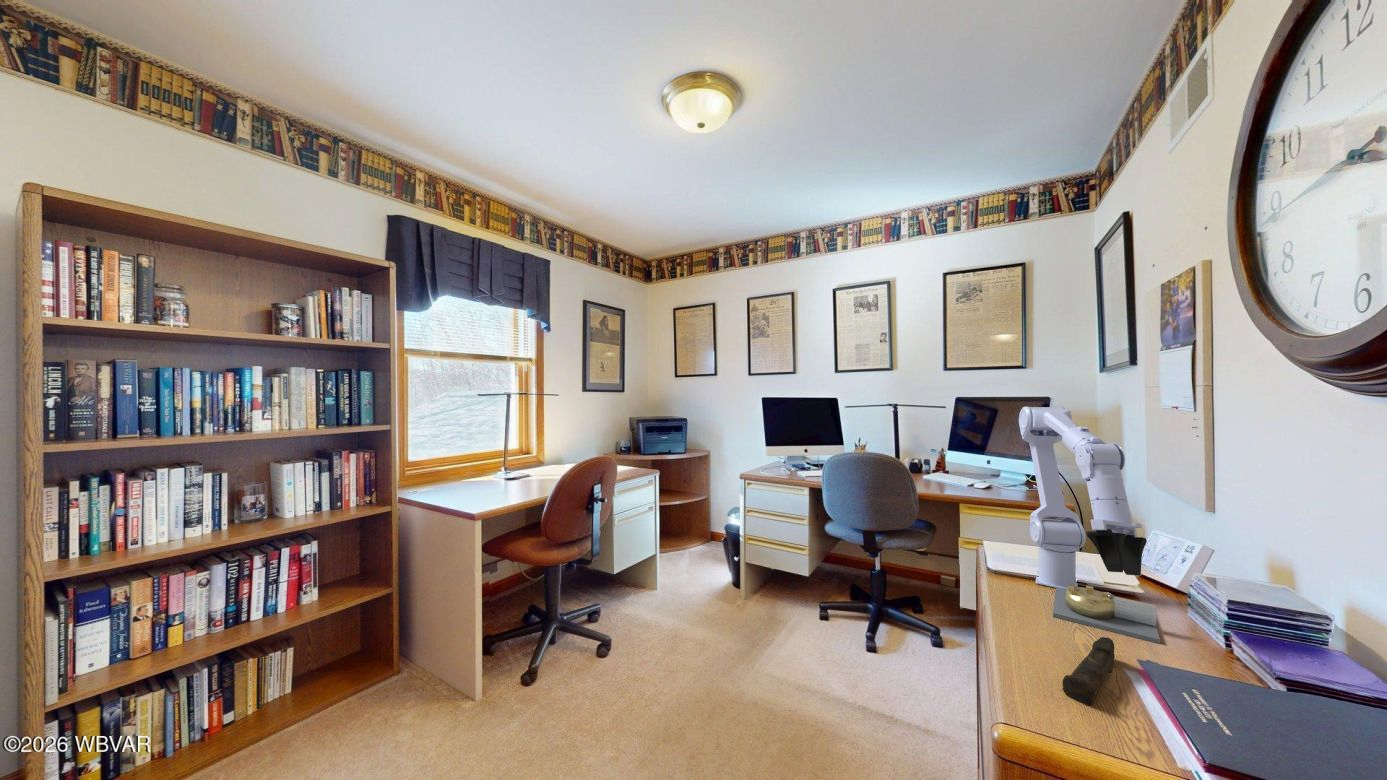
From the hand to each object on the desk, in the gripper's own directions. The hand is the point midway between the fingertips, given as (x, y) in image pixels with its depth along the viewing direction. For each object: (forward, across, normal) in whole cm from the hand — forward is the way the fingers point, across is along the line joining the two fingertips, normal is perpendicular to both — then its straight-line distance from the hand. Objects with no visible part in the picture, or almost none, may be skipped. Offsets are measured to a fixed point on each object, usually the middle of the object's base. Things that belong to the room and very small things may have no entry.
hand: (1124, 573), depth 88 cm
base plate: (+8, +12, +10) cm, 17 cm away
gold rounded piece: (+8, +11, +8) cm, 15 cm away
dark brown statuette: (+18, -14, +3) cm, 23 cm away
